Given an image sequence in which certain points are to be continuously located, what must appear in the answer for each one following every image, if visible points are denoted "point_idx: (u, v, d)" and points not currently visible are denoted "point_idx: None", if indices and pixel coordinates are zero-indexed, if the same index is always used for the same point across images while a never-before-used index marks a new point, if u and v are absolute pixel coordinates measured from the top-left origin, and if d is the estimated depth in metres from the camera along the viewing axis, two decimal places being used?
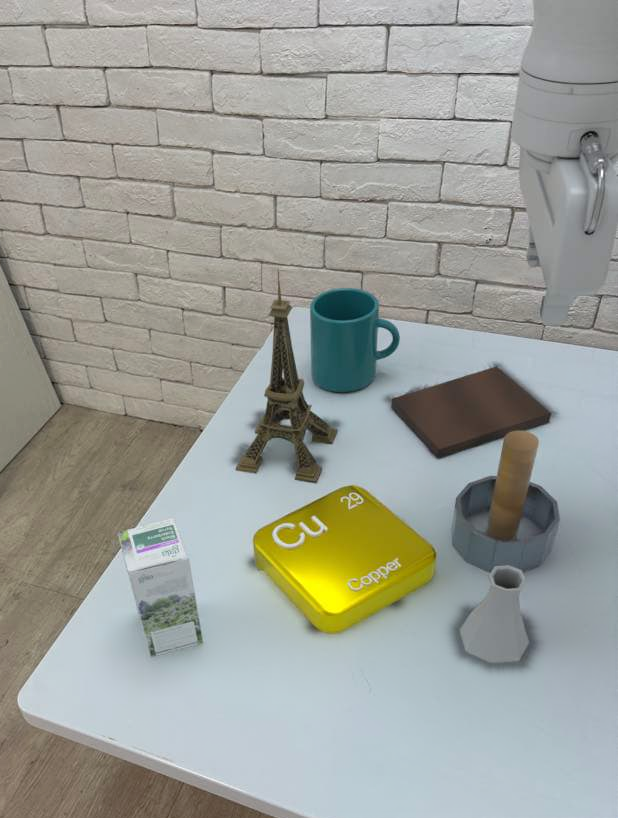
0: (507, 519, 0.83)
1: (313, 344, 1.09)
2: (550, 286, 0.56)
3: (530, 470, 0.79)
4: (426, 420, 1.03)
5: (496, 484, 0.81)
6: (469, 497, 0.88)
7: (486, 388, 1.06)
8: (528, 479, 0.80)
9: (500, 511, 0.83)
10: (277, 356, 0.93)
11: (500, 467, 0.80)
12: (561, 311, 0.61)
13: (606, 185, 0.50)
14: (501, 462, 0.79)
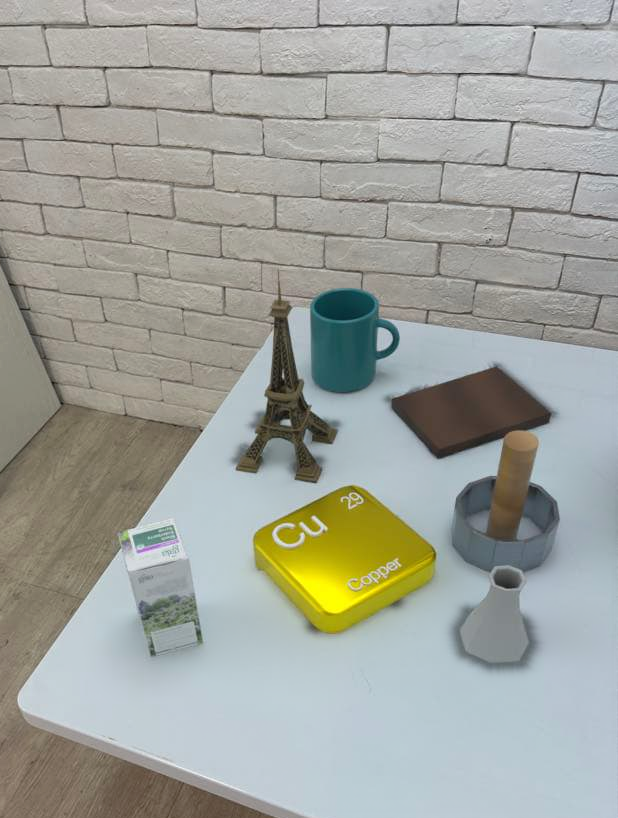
0: (507, 519, 0.83)
1: (313, 344, 1.09)
2: None
3: (530, 470, 0.79)
4: (426, 420, 1.03)
5: (496, 484, 0.81)
6: (469, 497, 0.88)
7: (486, 388, 1.06)
8: (528, 479, 0.80)
9: (500, 511, 0.83)
10: (277, 356, 0.93)
11: (500, 467, 0.80)
12: None
13: None
14: (501, 462, 0.79)
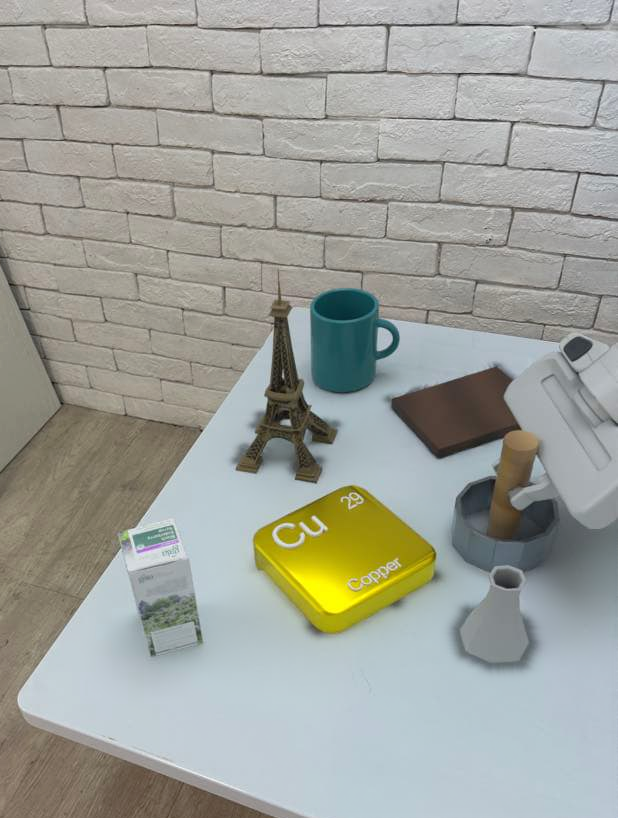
0: (507, 519, 0.83)
1: (313, 344, 1.09)
2: (580, 511, 0.71)
3: (530, 470, 0.79)
4: (426, 420, 1.03)
5: (496, 484, 0.81)
6: (469, 497, 0.88)
7: (486, 388, 1.06)
8: (528, 479, 0.80)
9: (500, 511, 0.83)
10: (277, 356, 0.93)
11: (500, 467, 0.80)
12: (527, 501, 0.79)
13: None
14: (501, 462, 0.79)
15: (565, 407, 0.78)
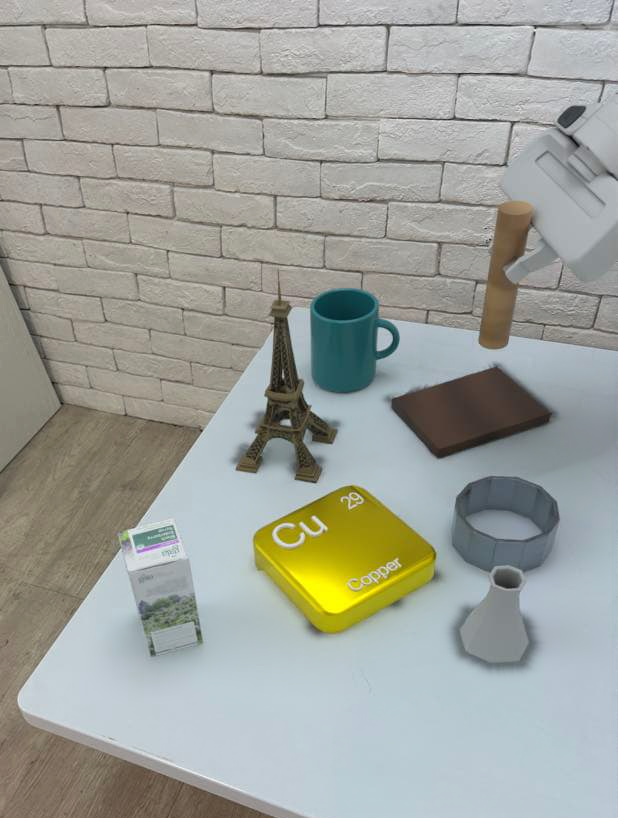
0: (502, 300, 0.83)
1: (313, 344, 1.09)
2: (575, 257, 0.72)
3: (524, 240, 0.79)
4: (426, 420, 1.03)
5: (491, 262, 0.82)
6: (469, 497, 0.88)
7: (486, 388, 1.06)
8: (523, 252, 0.80)
9: (495, 292, 0.83)
10: (277, 356, 0.93)
11: (494, 240, 0.80)
12: (522, 273, 0.80)
13: None
14: (495, 234, 0.80)
15: (559, 175, 0.78)
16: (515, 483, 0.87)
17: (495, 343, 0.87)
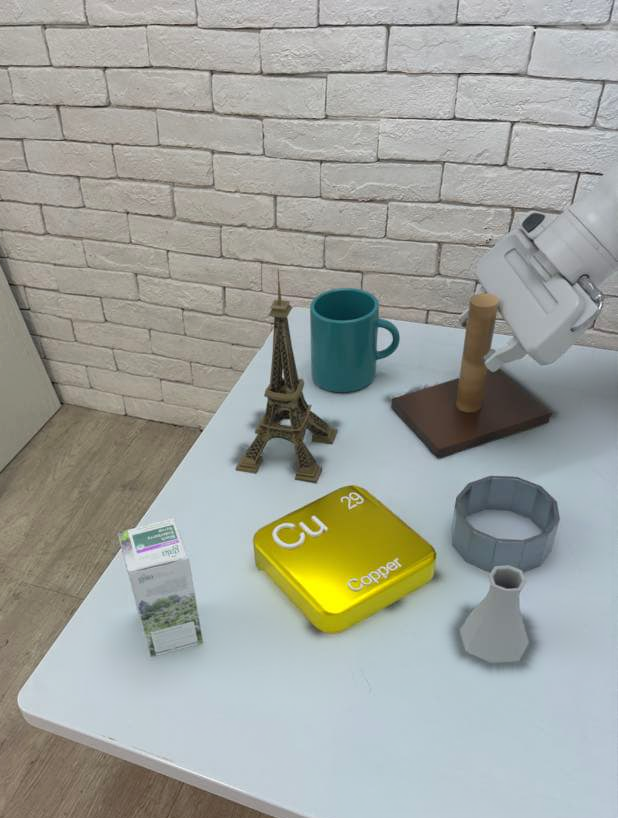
0: (474, 373, 0.99)
1: (313, 344, 1.09)
2: (532, 346, 0.87)
3: (492, 326, 0.94)
4: (426, 420, 1.03)
5: (465, 342, 0.97)
6: (469, 497, 0.88)
7: (486, 388, 1.06)
8: (491, 335, 0.95)
9: (468, 367, 0.98)
10: (277, 356, 0.93)
11: (467, 325, 0.95)
12: (499, 363, 0.93)
13: None
14: (468, 320, 0.95)
15: (523, 271, 0.93)
16: (515, 483, 0.87)
17: (470, 407, 1.02)
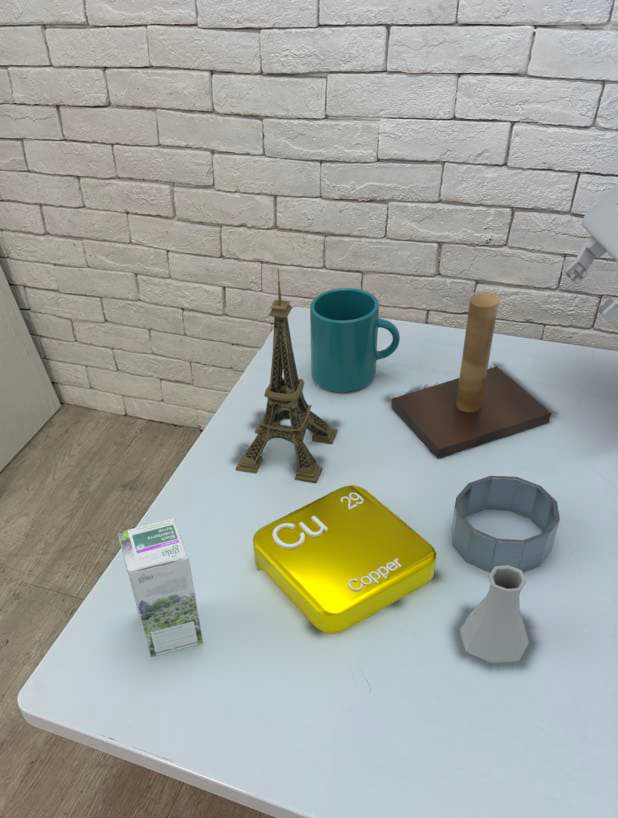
0: (474, 373, 0.99)
1: (313, 344, 1.09)
2: None
3: (492, 326, 0.94)
4: (426, 420, 1.03)
5: (465, 342, 0.97)
6: (469, 497, 0.88)
7: (486, 388, 1.06)
8: (491, 335, 0.95)
9: (468, 367, 0.98)
10: (277, 356, 0.93)
11: (467, 325, 0.95)
12: (617, 314, 0.88)
13: None
14: (468, 320, 0.95)
15: None
16: (515, 483, 0.87)
17: (470, 407, 1.02)
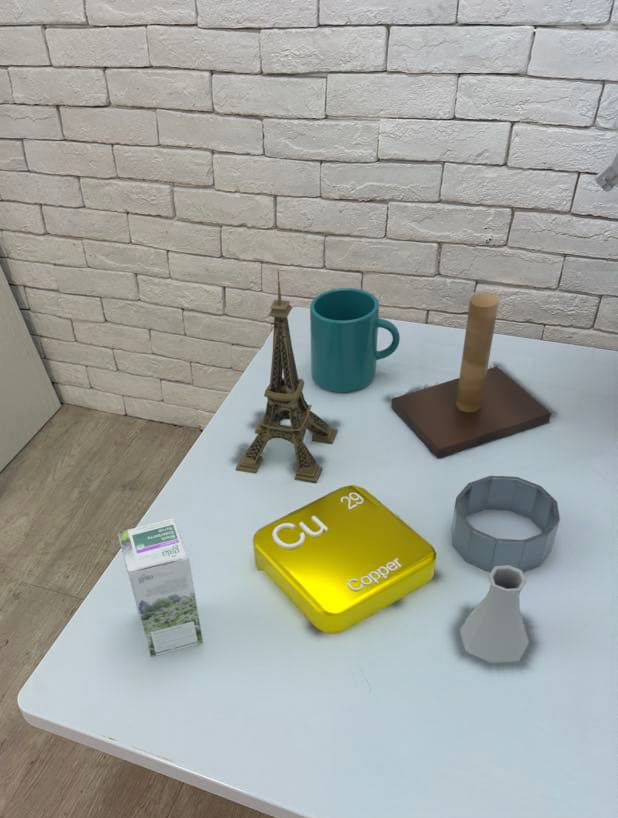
0: (474, 373, 0.99)
1: (313, 344, 1.09)
2: None
3: (492, 326, 0.94)
4: (426, 420, 1.03)
5: (465, 342, 0.97)
6: (469, 497, 0.88)
7: (486, 388, 1.06)
8: (491, 335, 0.95)
9: (468, 367, 0.98)
10: (277, 356, 0.93)
11: (467, 325, 0.95)
12: None
13: None
14: (468, 320, 0.95)
15: None
16: (515, 483, 0.87)
17: (470, 407, 1.02)
